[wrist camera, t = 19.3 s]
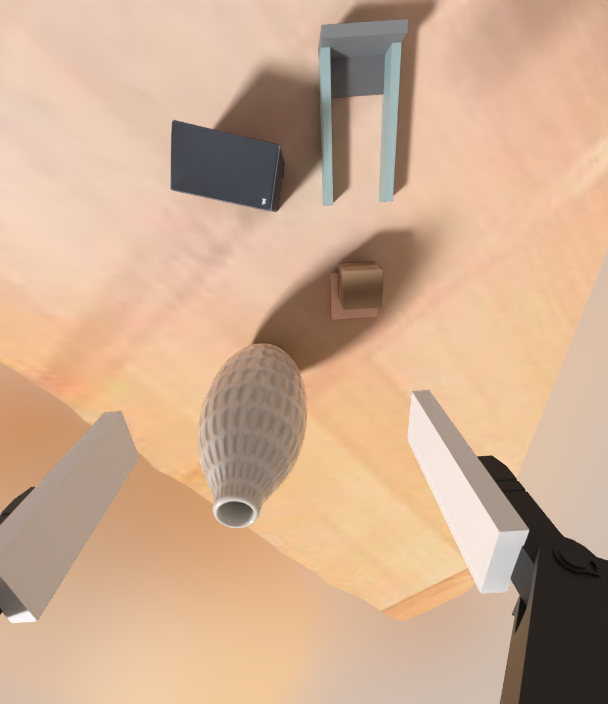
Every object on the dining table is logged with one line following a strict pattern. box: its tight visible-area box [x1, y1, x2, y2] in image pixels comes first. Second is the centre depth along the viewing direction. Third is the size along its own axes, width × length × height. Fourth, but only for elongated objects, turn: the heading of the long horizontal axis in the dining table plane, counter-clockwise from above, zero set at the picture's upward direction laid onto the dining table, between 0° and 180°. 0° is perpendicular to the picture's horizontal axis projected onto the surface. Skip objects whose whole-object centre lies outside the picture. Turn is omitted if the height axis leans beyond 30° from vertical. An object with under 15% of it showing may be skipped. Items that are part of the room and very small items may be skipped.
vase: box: [197, 343, 307, 528], centre depth 39 cm, size 13×13×28 cm
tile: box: [330, 273, 378, 320], centre depth 47 cm, size 7×7×1 cm
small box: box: [171, 120, 284, 212], centre depth 35 cm, size 11×6×10 cm, turn 79°
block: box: [338, 262, 384, 310], centre depth 43 cm, size 5×5×6 cm
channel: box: [318, 19, 409, 206], centre depth 36 cm, size 16×8×5 cm, turn 3°
